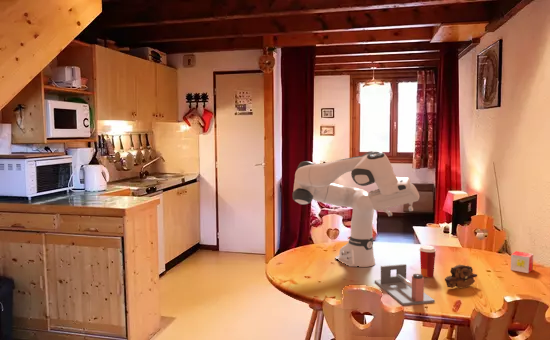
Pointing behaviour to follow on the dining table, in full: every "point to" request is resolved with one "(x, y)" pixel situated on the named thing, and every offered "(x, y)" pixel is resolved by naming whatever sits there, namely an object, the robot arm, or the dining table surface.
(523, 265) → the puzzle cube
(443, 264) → the dining table surface
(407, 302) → the gray stand
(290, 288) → the dining table surface
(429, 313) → the dining table surface
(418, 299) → the pink l-shaped bar
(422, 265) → the paper cup
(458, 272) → the wooden carving
